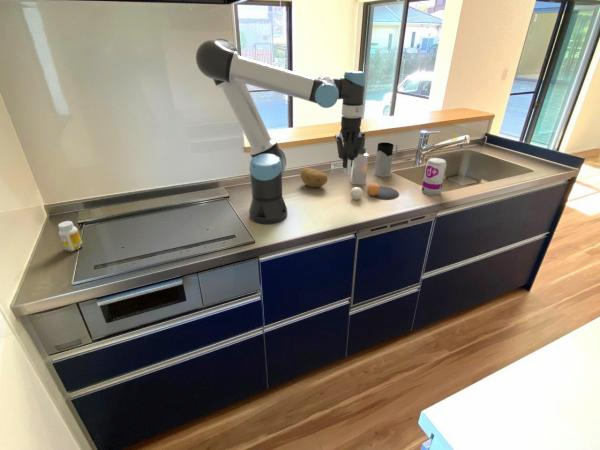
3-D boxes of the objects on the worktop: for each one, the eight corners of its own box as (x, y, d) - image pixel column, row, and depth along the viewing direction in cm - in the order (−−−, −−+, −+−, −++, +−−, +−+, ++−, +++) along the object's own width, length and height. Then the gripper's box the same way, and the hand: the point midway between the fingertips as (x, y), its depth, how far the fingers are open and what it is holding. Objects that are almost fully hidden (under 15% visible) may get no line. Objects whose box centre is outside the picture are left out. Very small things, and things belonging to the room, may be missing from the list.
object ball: (371, 189, 147) (381, 183, 149) (363, 185, 152) (373, 179, 153) (373, 199, 151) (383, 193, 152) (365, 195, 155) (375, 189, 156)
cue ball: (362, 186, 145) (367, 195, 148) (354, 183, 149) (359, 191, 153) (353, 195, 144) (358, 203, 147) (345, 191, 149) (350, 200, 152)
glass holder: (369, 173, 177) (372, 144, 169) (387, 166, 184) (390, 139, 177) (383, 178, 171) (387, 148, 163) (400, 171, 179) (405, 142, 171)
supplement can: (433, 197, 151) (440, 164, 144) (417, 191, 157) (423, 159, 149) (444, 192, 155) (451, 160, 148) (428, 186, 161) (434, 156, 153)
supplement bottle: (64, 254, 114) (54, 229, 110) (66, 245, 119) (56, 221, 114) (82, 250, 116) (73, 225, 111) (84, 242, 121) (75, 218, 116)
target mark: (380, 202, 147) (380, 201, 147) (361, 190, 158) (361, 189, 158) (405, 195, 152) (405, 195, 152) (385, 184, 163) (385, 184, 163)
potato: (319, 193, 155) (319, 177, 151) (296, 185, 163) (295, 169, 159) (332, 187, 161) (332, 171, 157) (309, 179, 170) (309, 164, 166)
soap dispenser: (363, 177, 171) (367, 133, 160) (365, 184, 164) (369, 138, 153) (350, 177, 172) (353, 133, 161) (351, 184, 164) (355, 138, 153)
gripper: (342, 119, 124) (338, 180, 136) (371, 116, 129) (365, 175, 141) (331, 115, 130) (328, 174, 142) (360, 112, 135) (354, 169, 147)
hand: (346, 174), depth 141 cm, fingers closed
